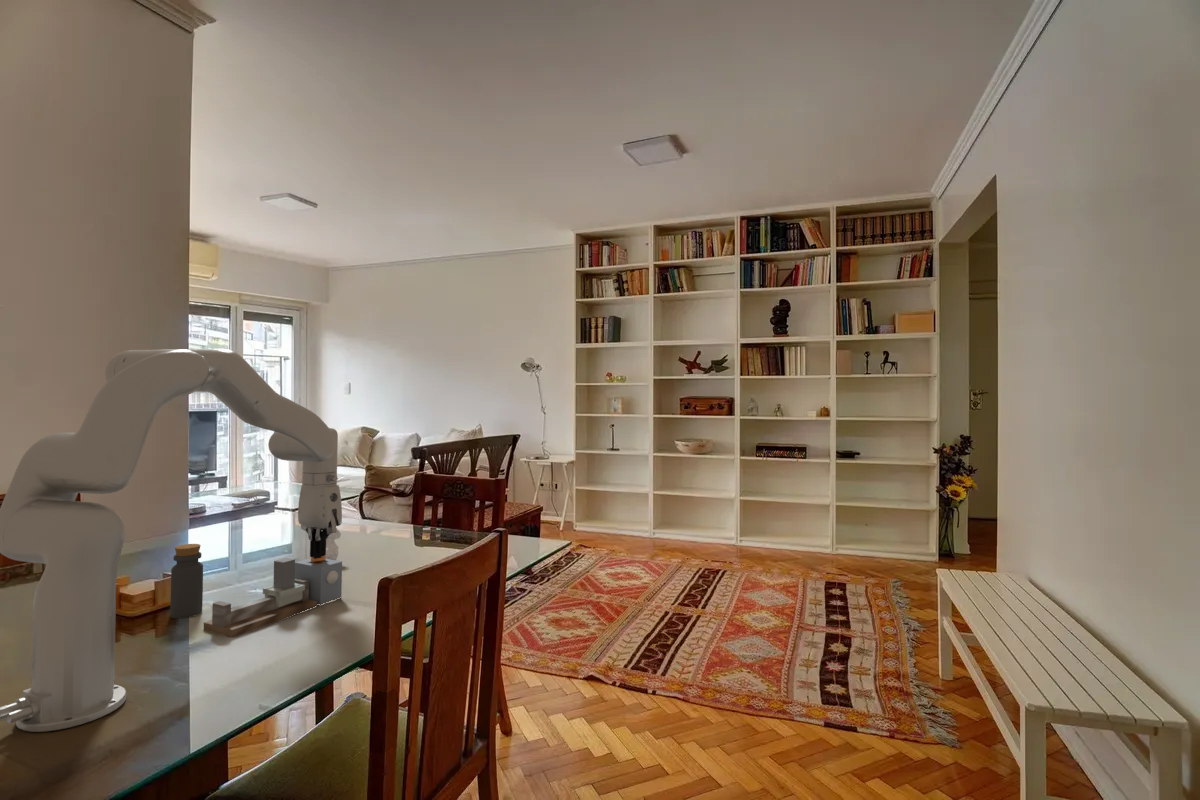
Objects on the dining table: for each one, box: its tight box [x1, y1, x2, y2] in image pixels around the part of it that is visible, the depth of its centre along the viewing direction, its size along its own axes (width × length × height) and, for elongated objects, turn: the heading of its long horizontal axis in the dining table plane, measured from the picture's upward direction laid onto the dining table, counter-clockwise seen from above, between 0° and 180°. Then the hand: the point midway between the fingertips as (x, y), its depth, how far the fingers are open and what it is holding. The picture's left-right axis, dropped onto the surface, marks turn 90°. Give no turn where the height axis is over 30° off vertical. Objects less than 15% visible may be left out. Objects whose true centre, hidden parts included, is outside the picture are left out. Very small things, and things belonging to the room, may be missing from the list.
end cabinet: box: [295, 557, 343, 605], centre depth 144 cm, size 6×9×9 cm, turn 65°
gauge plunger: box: [310, 556, 326, 564], centre depth 144 cm, size 3×3×6 cm
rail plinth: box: [203, 578, 317, 638], centre depth 132 cm, size 20×9×6 cm, turn 155°
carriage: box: [262, 557, 305, 607], centre depth 136 cm, size 6×6×9 cm
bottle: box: [169, 543, 204, 619], centre depth 133 cm, size 6×6×15 cm
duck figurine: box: [325, 527, 342, 560], centre depth 177 cm, size 12×8×11 cm
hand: (317, 556), depth 144 cm, fingers closed
